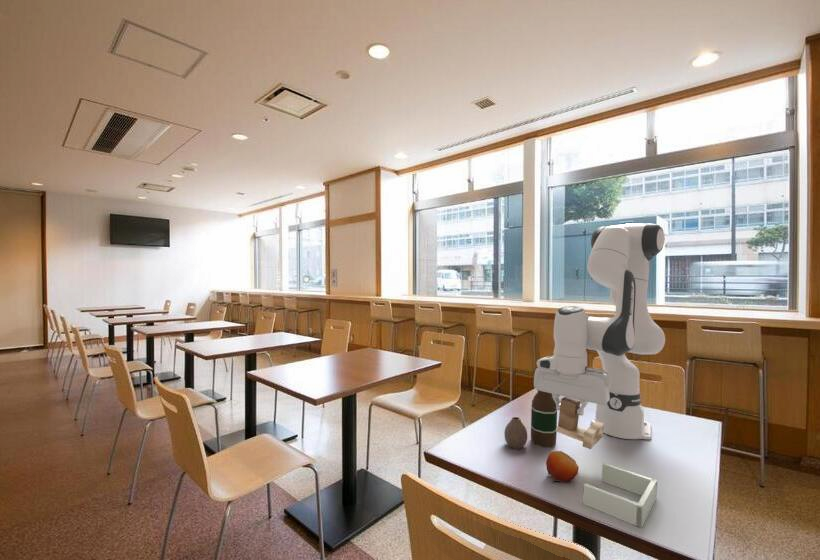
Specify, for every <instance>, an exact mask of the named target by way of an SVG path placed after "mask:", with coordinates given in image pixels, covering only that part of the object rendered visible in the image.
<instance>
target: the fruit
mask: <svg viewBox="0 0 820 560" xmlns="http://www.w3.org/2000/svg"><path fill="white" fill-rule="evenodd" d="M545 466H546V470H547V471H546V472H547V475H550V477H551V480H552V482H551V484H553V483H554V482H555V481H557V482H560V483H563V484H565V483H571V482H573V481H574V480H575V479H576V477H577V475H578V474H579V469H580V467H579V464H577V462H576V460H575V459H574V458H573V457H572V456H570V455H569V454H567V453H566V452H563V450H562V451H561V450H552V451H550V452H549V453H548V455H547V458H546V462H545Z"/></svg>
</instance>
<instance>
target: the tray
mask: <svg viewBox="0 0 820 560" xmlns="http://www.w3.org/2000/svg"><path fill="white" fill-rule="evenodd" d="M601 466H602V468H601V471H602V472H601V474H602V475H601V482H603V483H606V484H609V485H612V486H615V487H618V488H620V489H623V490H626V491H628V492H631V493H634V494H635V495H640V496H641V497H640V498H639V501H638V502H636V501H634V500H630V499H629V498H626V497H623V496H620V495H618V494H615V493H612V492H609V491H606V490H604V489H601V488H599V487H596V486H594V485H591V484H589V483H586V482H585V483H584V484H583V495H582V497H583V498H582V504H583V505H585V506H587V507H589V508H592V509H595V510H597V511H599V512H602V513H603V514H607V515H609V516H611V517H614V518H617V519H618V520H621V521H624V522H626V523H628V524H631V525H633V526H636V527H638V528H643V525H644V523H645V521H646V520H647V519H648V516H649V514H650V513H651V510H652V508H653V507H654V504H655V502H656V501H657V491H658V490H657V488H658V480H657V479H654V478H651V477H648V476H645V475H641V474H639V473H636V472H632V471H630V470H627V469H624V468H622V467H617V466H614V465H612V464H609V463H606V462H603V463H602V465H601Z"/></svg>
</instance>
